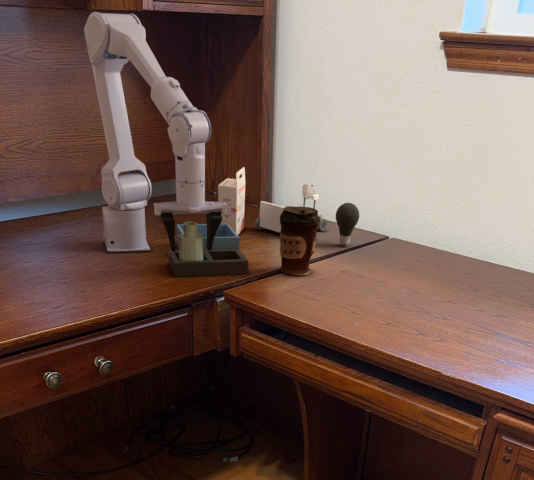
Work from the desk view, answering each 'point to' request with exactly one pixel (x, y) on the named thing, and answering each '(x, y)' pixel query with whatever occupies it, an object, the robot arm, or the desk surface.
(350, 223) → the light bulb
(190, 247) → the bottle
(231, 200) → the ink cartridge box
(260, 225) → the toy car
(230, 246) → the basket
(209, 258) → the bottle rack
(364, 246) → the desk surface
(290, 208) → the coffee cup
